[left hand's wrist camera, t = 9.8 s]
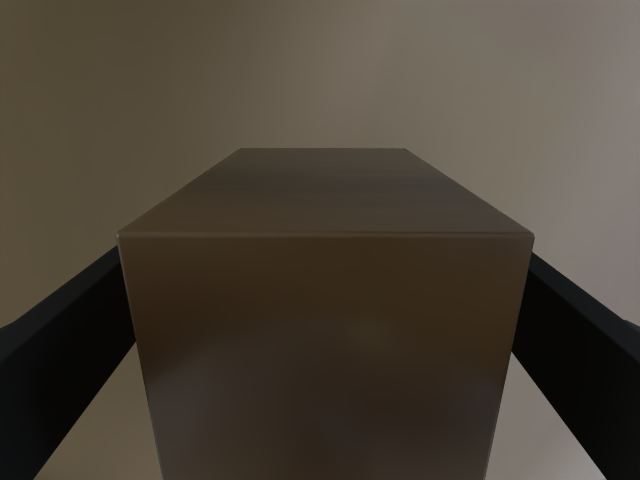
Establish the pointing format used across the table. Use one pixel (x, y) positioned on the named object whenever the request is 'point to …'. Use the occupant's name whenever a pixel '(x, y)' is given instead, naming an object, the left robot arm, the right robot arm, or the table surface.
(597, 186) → the table surface
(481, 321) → the bar
